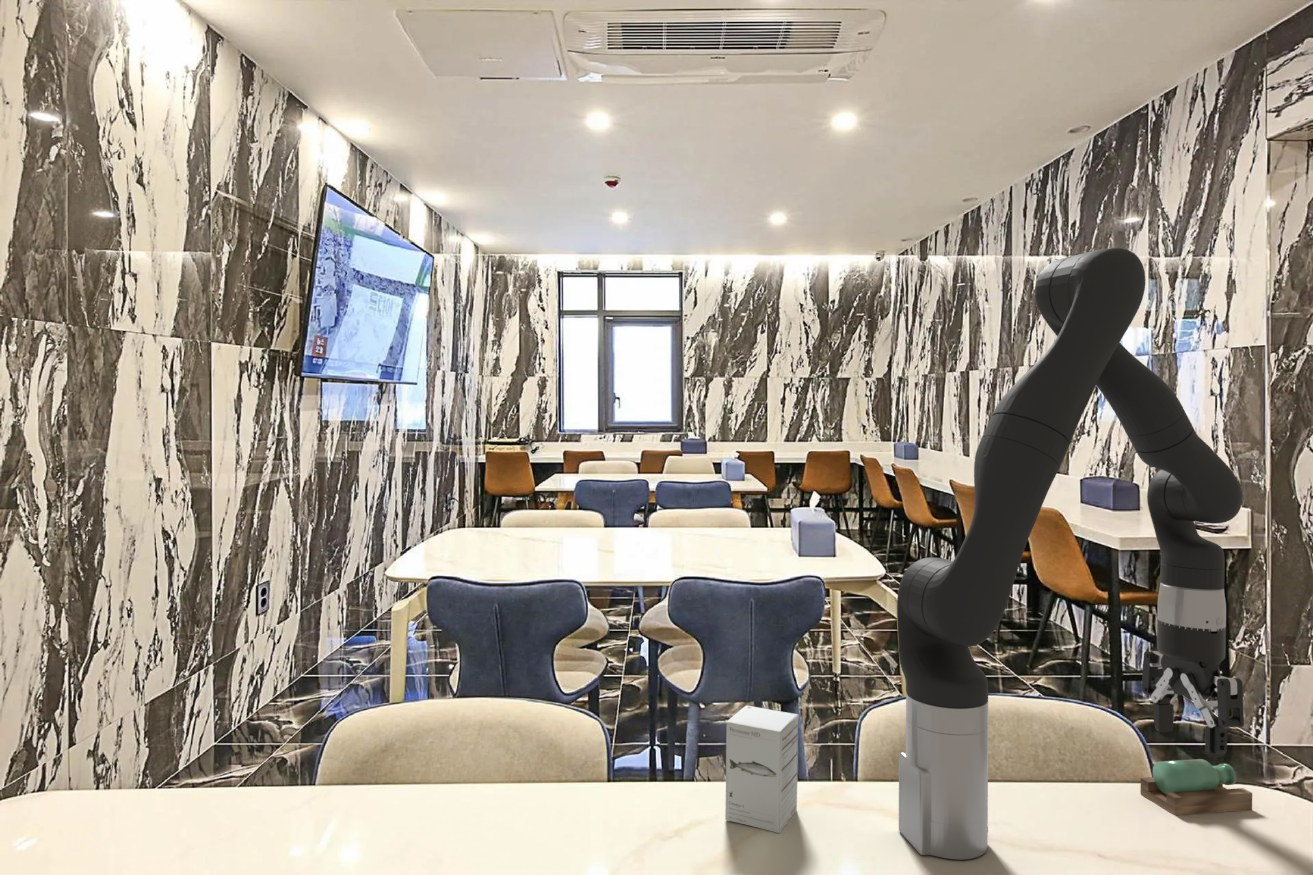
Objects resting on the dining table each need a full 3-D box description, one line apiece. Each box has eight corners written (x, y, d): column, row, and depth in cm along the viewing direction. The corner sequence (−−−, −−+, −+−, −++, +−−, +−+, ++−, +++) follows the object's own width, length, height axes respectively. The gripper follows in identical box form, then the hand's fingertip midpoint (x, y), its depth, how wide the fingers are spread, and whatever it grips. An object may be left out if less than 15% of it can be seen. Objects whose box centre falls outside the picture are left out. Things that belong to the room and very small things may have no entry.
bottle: (1176, 799, 104) (1175, 767, 104) (1152, 787, 108) (1152, 756, 108) (1241, 795, 105) (1240, 764, 105) (1216, 783, 109) (1215, 753, 109)
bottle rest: (1174, 814, 103) (1174, 797, 103) (1140, 794, 109) (1140, 777, 109) (1252, 809, 105) (1252, 792, 104) (1214, 789, 110) (1214, 773, 110)
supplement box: (723, 821, 101) (723, 720, 101) (745, 798, 108) (745, 703, 108) (780, 835, 98) (780, 730, 98) (799, 810, 104) (799, 712, 104)
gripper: (1126, 608, 113) (1124, 724, 113) (1209, 633, 99) (1206, 766, 99) (1175, 607, 114) (1172, 723, 114) (1264, 632, 100) (1261, 764, 100)
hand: (1188, 743), depth 107 cm, fingers open, 8 cm apart
